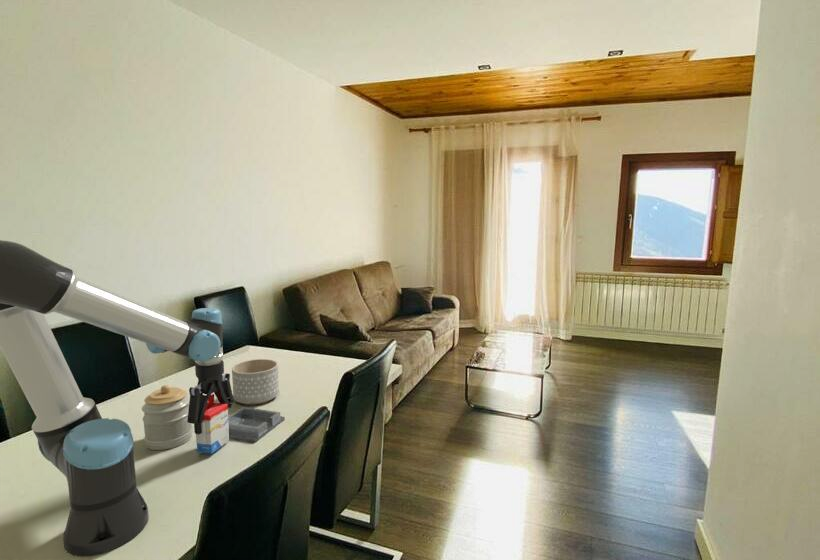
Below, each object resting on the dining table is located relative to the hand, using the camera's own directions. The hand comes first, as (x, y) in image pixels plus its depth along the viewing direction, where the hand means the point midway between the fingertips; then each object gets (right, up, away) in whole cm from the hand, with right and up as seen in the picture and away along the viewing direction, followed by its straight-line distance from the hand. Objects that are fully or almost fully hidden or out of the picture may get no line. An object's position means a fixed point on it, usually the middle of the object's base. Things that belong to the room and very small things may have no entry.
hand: (213, 435), depth 126 cm
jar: (-16, -4, +6) cm, 17 cm away
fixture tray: (+6, -2, +14) cm, 15 cm away
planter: (0, +1, +37) cm, 37 cm away
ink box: (0, -4, 0) cm, 4 cm away
